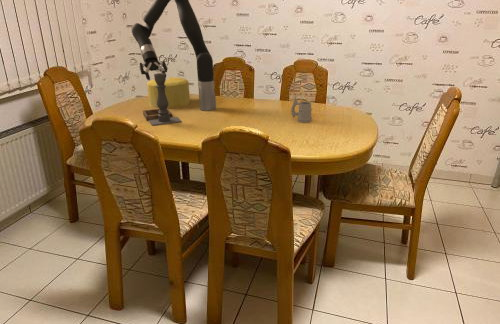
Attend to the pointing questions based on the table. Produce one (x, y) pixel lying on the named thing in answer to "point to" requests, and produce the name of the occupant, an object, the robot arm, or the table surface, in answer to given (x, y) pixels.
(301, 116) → the mug
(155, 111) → the walnut frame
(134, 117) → the table surface
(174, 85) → the cheese
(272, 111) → the table surface
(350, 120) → the table surface
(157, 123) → the rubber mat
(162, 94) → the candle holder
